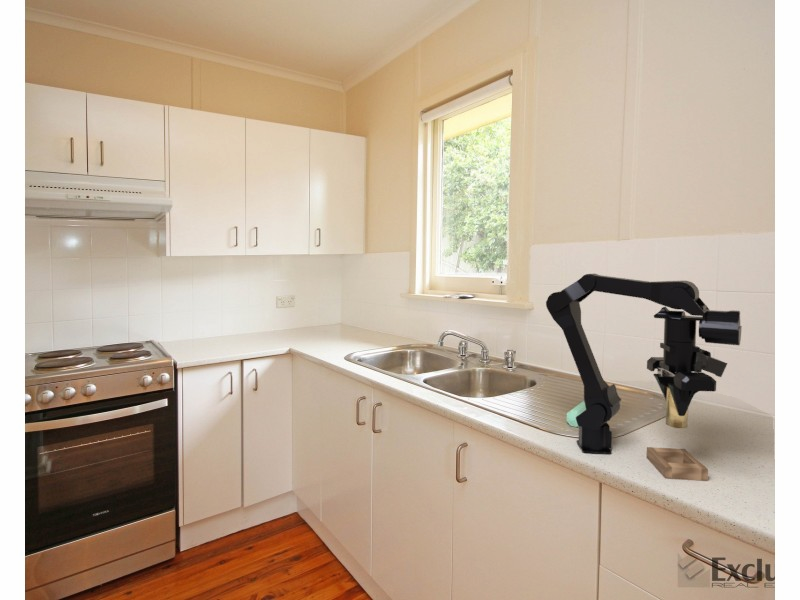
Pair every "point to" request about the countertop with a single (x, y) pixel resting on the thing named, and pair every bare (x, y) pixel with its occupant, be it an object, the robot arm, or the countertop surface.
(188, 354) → the countertop surface
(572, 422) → the container
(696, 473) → the jig
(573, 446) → the countertop surface
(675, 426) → the peg
